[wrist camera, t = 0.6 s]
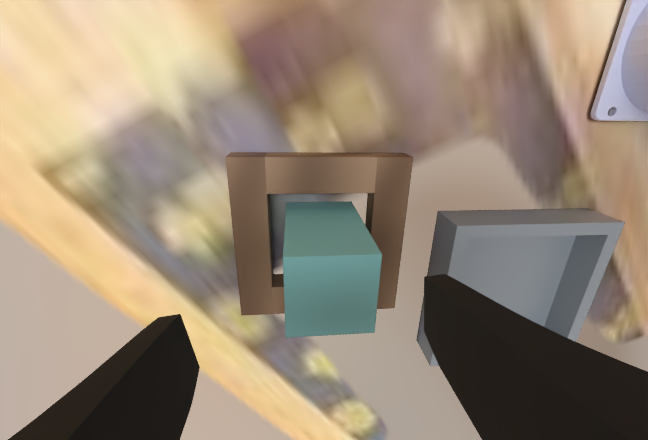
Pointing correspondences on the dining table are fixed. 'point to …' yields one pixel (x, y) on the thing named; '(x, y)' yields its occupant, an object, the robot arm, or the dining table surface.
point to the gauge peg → (329, 270)
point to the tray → (526, 261)
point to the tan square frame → (312, 178)
